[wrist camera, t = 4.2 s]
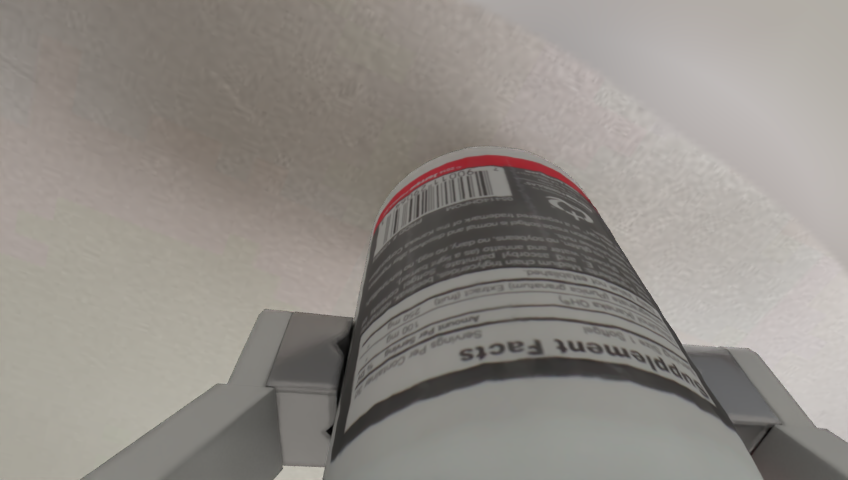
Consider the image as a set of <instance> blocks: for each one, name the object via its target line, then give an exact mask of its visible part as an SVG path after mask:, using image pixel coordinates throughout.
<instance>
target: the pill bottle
mask: <svg viewBox="0 0 848 480" xmlns="http://www.w3.org/2000/svg"><path fill="white" fill-rule="evenodd" d="M323 480H764V479H763V478H762V476H761V474H760V472H759V470H758V468H757V466H756V464H755V463H754V461H753V459H752V457H751V455H750V454H749V452H748V450H747V448H746V447H745V445H744V443H743V441H742V439H741V437H740V435H739V434H738V432H737V431H736V429H735V427H734V425H733V423H732V422H731V420H730V418H729V416H728V414H727V413H726V411H725V410H724V409H723V407H722V406H721V404H720V403H719V401H718V400H717V399H716V397H715V396H714V394H713V393H712V391H711V390H710V389H709V387H708V386H707V384H706V383H705V381H704V379H703V377H702V375H701V373H700V372H699V370H698V369H697V368H696V366H695V365H694V364H693V362H692V361H691V359H690V358H689V356H688V354H687V353H686V351H685V349H684V347H683V346H682V344H681V342H680V340H679V339H678V337H677V335H676V334H675V332H674V331H673V329H672V328H671V326H670V325H669V324H668V322H667V321H666V319H665V318H664V316H663V315H662V313H661V311H660V309H659V307H658V306H657V304H656V303H655V301H654V300H653V298H652V296H651V295H650V293H649V292H648V290H647V289H646V287H645V286H644V284H643V283H642V281H641V280H640V278H639V276H638V275H637V273H636V272H635V270H634V268H633V267H632V265H631V264H630V262H629V260H628V259H627V257H626V256H625V254H624V253H623V251H622V249H621V248H620V246H619V245H618V243H617V242H616V240H615V238H614V236H613V235H612V233H611V231H610V229H609V228H608V227H607V225H606V224H605V222H604V221H603V219H602V218H601V216H600V214H599V213H598V211H597V209H596V208H595V207H594V206H593V205H592V203H591V201H590V200H589V199H588V197H587V196H586V194H585V193H584V191H583V189H582V188H581V187H580V186H579V185H578V184H577V182H576V181H575V180H574V179H573V178H572V177H571V176H570V175H568V174H567V173H566V172H565V171H563V170H562V169H561V168H560V167H558V166H556V165H555V164H553V163H551V162H549V161H547V160H546V159H545V158H543V157H541V156H538V155H536V154H533V153H531V152H528V151H524V150H521V149H513V148H506V147H493V146H480V147H469V148H465V149H461V150H457V151H454V152H451V153H448V154H445V155H442V156H439V157H437V158H435V159H433V160H430V161H428V162H427V163H425V164H423V165H422V166H420V167H419V168H417V169H416V170H414V171H413V172H411V173H410V174H409V175H407V176H406V177H405V178H404V179H403V180H402V181H401V182H400V183H399V184H398V185H397V186H396V187H395V188H394V189H393V190H392V192H391V193H390V194H389V195H388V197H387V199H386V200H385V202H384V203H383V205H382V207H381V208H380V210H379V213H378V215H377V217H376V220H375V223H374V226H373V229H372V234H371V239H370V244H369V249H368V254H367V259H366V264H365V269H364V273H363V278H362V282H361V287H360V292H359V297H358V301H357V307H356V312H355V318H354V326H353V331H352V336H351V342H350V347H349V352H348V356H347V362H346V368H345V373H344V378H343V383H342V388H341V393H340V398H339V403H338V408H337V413H336V417H335V422H334V426H333V431H332V436H331V441H330V446H329V451H328V456H327V461H326V465H325V470H324V475H323Z"/></svg>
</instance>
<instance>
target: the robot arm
mask: <svg viewBox="0 0 848 480" xmlns="http://www.w3.org/2000/svg"><path fill="white" fill-rule="evenodd" d="M353 326H354V320H353V318H351V317H342V316H332V315H322V314H313V313H303V312H288V311H278V310H269V309H264V310H263V311H262V312H261V313H260V314H259V315H258V318H257V320H256V322H255V324H254V326H253V329H252V331H251V333H250V335H249V337H248V339H247V342H246V344H245V346H244V348H243V350H242V353H241V355H240V357H239V359H238V361H237V363H236V366H235V368H234V370H233V372H232V374H231V376H230V379H229V381H228V383H227V384H216V385H214V386H213V387H212V388H210V389H209V390H207V391H206V392H204V393H203V394H202V395H200V396H199V397H197V398H196V399H194V400H193V401H192V402H190V403H189V404H187V405H186V406H184V407H183V408H182V409H180V410H179V411H177V412H176V413H175V414H173V415H172V416H170V417H169V418H167V419H166V420H165V421H163V422H162V423H160V424H159V425H157V426H156V427H155V428H153V429H152V430H150V431H149V432H147V433H146V434H145V435H143V436H142V437H140V438H139V439H137V440H136V441H135V442H133V443H132V444H130V445H129V446H127V447H126V448H125V449H123V450H122V451H120V452H119V453H117V454H116V455H115V456H113V457H112V458H110V459H109V460H107V461H106V462H105V463H103V464H102V465H100V466H99V467H97V468H96V469H95V470H93V471H92V472H90V473H89V474H87V475H86V476H85V477H83V478H82V479H80V480H273V479H274V478H275V477H276V476H277V475H278V474H279V473H280V472H281V470H282V469H283V467H282V465H284V466H309V467H325V465H326V461H327V456H328V451H329V446H330V441H331V436H332V431H333V426H334V422H335V417H336V413H337V408H338V403H339V398H340V393H341V388H342V383H343V378H344V373H345V368H346V362H347V356H348V352H349V347H350V342H351V336H352V331H353ZM682 346H683V347H684V349H685V351H686V353H687V354H688V356H689V358H690V359H691V361H692V362H693V364H694V365H695V366H696V368H697V369H698V370H699V372H700V373H701V375H702V377H703V379H704V381H705V383H706V384H707V386H708V387H709V389H710V390H711V391H712V393H713V394H714V396H715V397H716V399H717V400H718V401H719V403H720V404H721V406H722V407H723V409H724V410H725V411H726V413H727V414H728V416H729V418H730V420H731V422H732V423H733V425H734V427H735V429H736V431H737V432H738V434H739V435H740V437H741V439H742V441H743V443H744V445H745V447H746V448H747V450H748V452H749V454H750V455H751V457H752V459H753V461H754V463H755V464H756V466H757V468H758V470H759V472H760V474H761V476H762V478H763V479H764V480H848V443H847V442H846V441H844V440H843V439H841V438H840V437H838V436H836V435H835V434H833V433H832V432H830V431H829V430H827V429H822V428H817V427H816V426H815V425H814V424H813V422H812V421H811V420H810V419H809V417H808V416H807V415H806V414H805V412H804V411H803V410H802V409H801V407H800V406H799V405H798V404H797V402H796V401H795V400H794V399H793V397H792V396H791V395H790V394H789V392H788V391H787V390H786V389H785V387H784V386H783V385H782V384H781V382H780V381H779V380H778V379H777V377H776V376H775V375H774V374H773V372H772V371H771V370H770V369H769V367H768V366H767V365H766V364H765V362H764V361H763V360H762V359H761V357H760V356H759V355H758V354H757V353H755V352H754V351H752V350H750V349H749V348H734V347H713V346H700V345H686V344H682Z"/></svg>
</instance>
